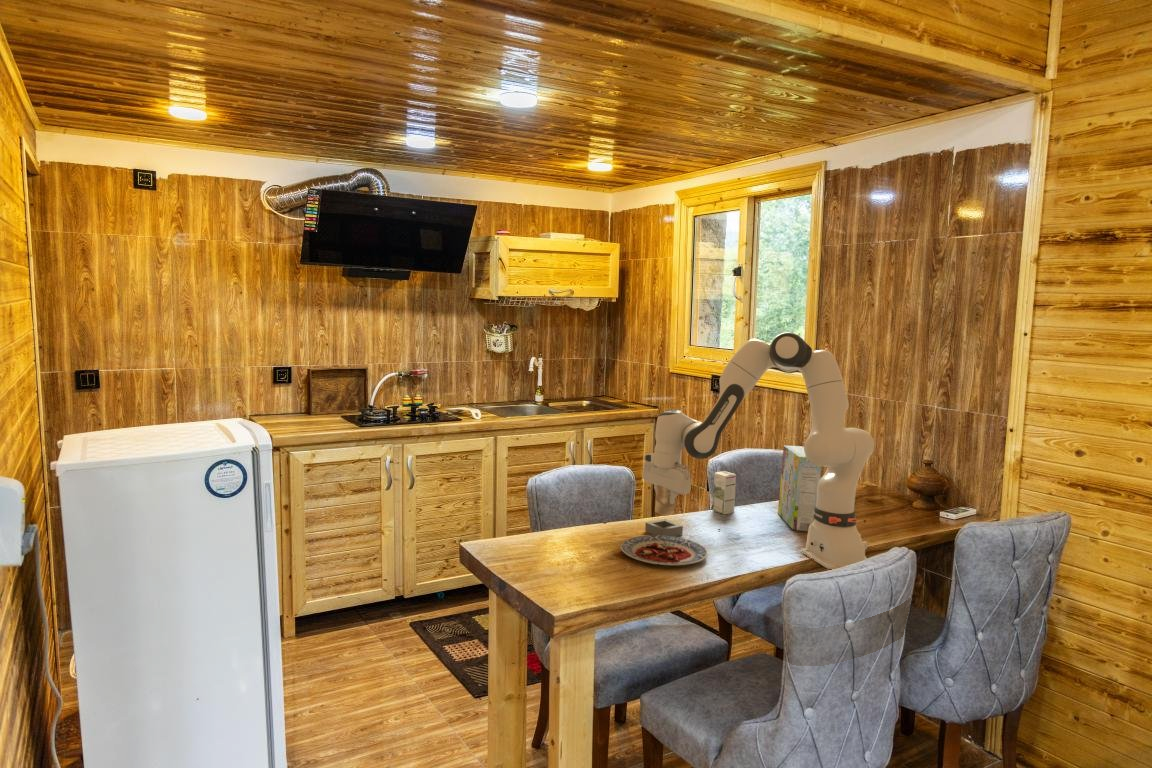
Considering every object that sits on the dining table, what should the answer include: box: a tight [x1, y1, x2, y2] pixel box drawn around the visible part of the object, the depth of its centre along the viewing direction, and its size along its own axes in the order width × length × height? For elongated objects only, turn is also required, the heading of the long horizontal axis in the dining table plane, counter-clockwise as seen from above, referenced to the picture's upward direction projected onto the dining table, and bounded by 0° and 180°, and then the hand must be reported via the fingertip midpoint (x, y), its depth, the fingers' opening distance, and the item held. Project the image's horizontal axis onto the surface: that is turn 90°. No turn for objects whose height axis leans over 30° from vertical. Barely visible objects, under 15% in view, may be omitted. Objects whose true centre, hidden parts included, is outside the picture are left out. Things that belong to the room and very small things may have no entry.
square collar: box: [644, 518, 683, 537], centre depth 243 cm, size 9×9×3 cm
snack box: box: [777, 444, 823, 532], centre depth 259 cm, size 22×9×26 cm, turn 179°
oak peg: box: [654, 485, 675, 517], centre depth 242 cm, size 4×4×9 cm
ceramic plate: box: [620, 534, 709, 566], centre depth 222 cm, size 26×26×3 cm
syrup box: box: [712, 470, 737, 515], centre depth 270 cm, size 6×6×14 cm
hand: (665, 501), depth 242 cm, fingers closed on oak peg, 4 cm apart
